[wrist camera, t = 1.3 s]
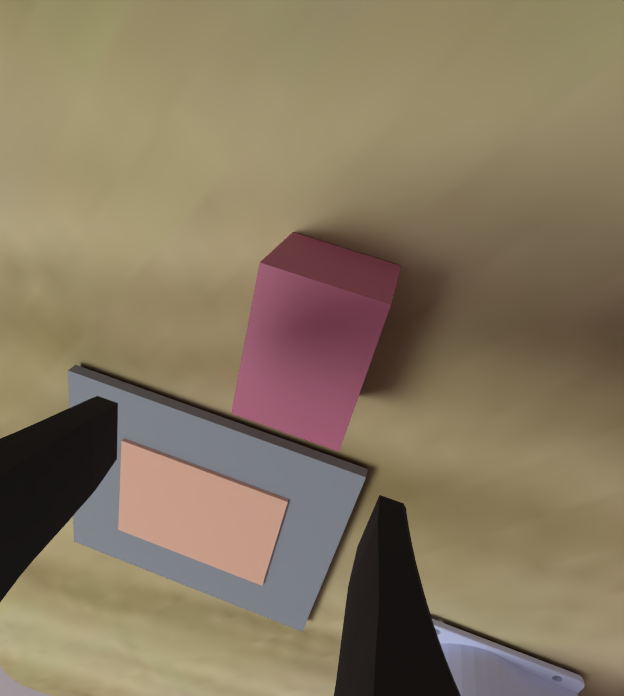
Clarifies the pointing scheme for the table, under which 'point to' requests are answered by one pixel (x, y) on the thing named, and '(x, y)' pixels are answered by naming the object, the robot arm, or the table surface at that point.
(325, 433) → the pink rectangular block
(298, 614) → the mat
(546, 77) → the table surface
